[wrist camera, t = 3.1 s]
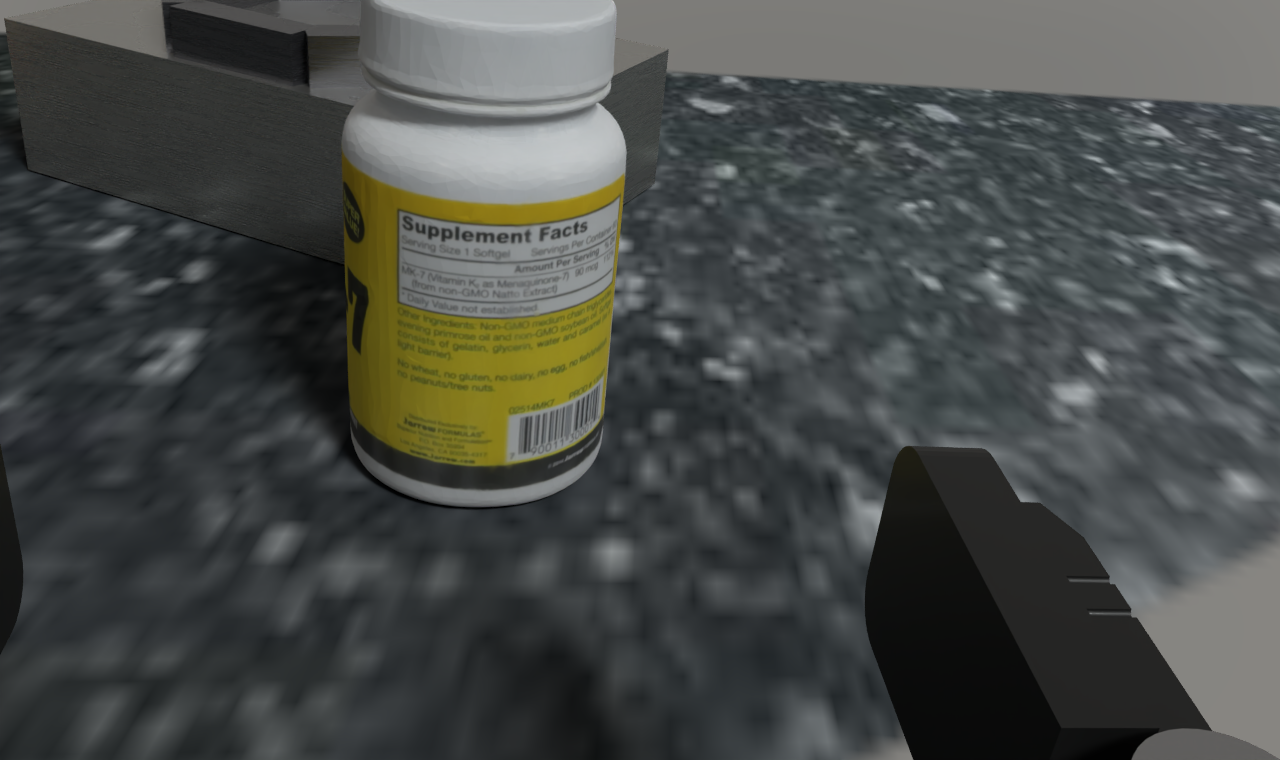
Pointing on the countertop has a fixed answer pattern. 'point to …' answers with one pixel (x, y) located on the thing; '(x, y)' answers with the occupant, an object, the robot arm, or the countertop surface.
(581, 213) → the supplement bottle
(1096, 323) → the countertop surface
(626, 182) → the octagon ring base plate
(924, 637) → the robot arm
